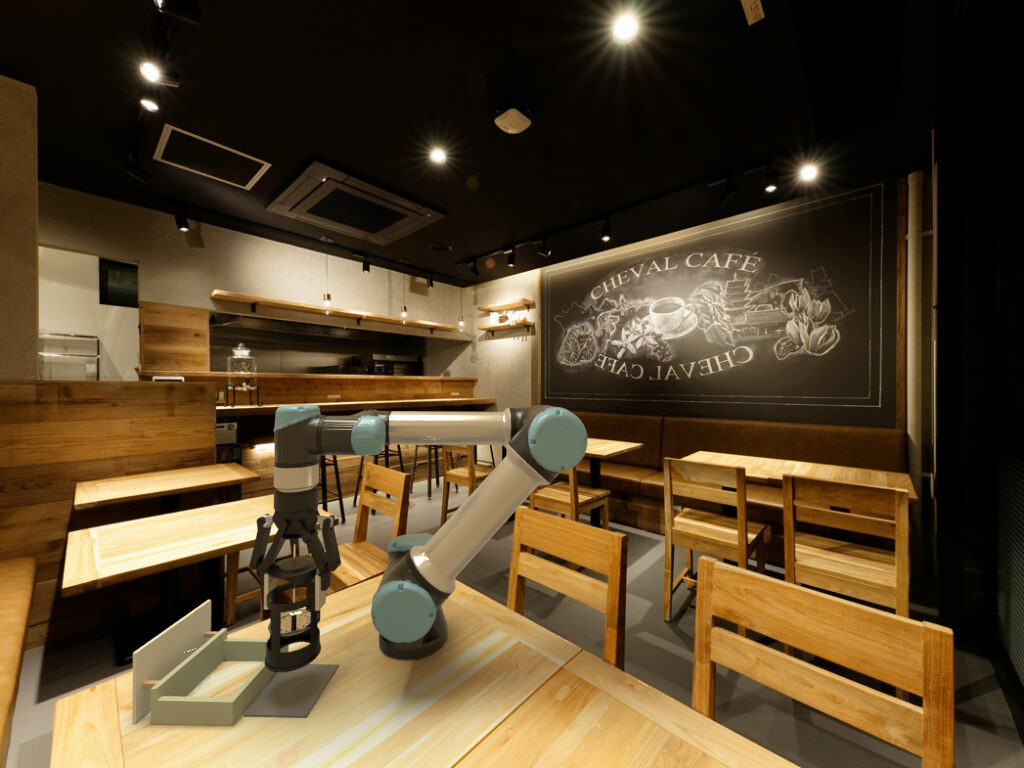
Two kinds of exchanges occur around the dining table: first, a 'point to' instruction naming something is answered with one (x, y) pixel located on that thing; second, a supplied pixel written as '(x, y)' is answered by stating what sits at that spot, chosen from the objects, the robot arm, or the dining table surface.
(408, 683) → the dining table surface
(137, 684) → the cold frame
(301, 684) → the plate
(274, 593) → the french press
